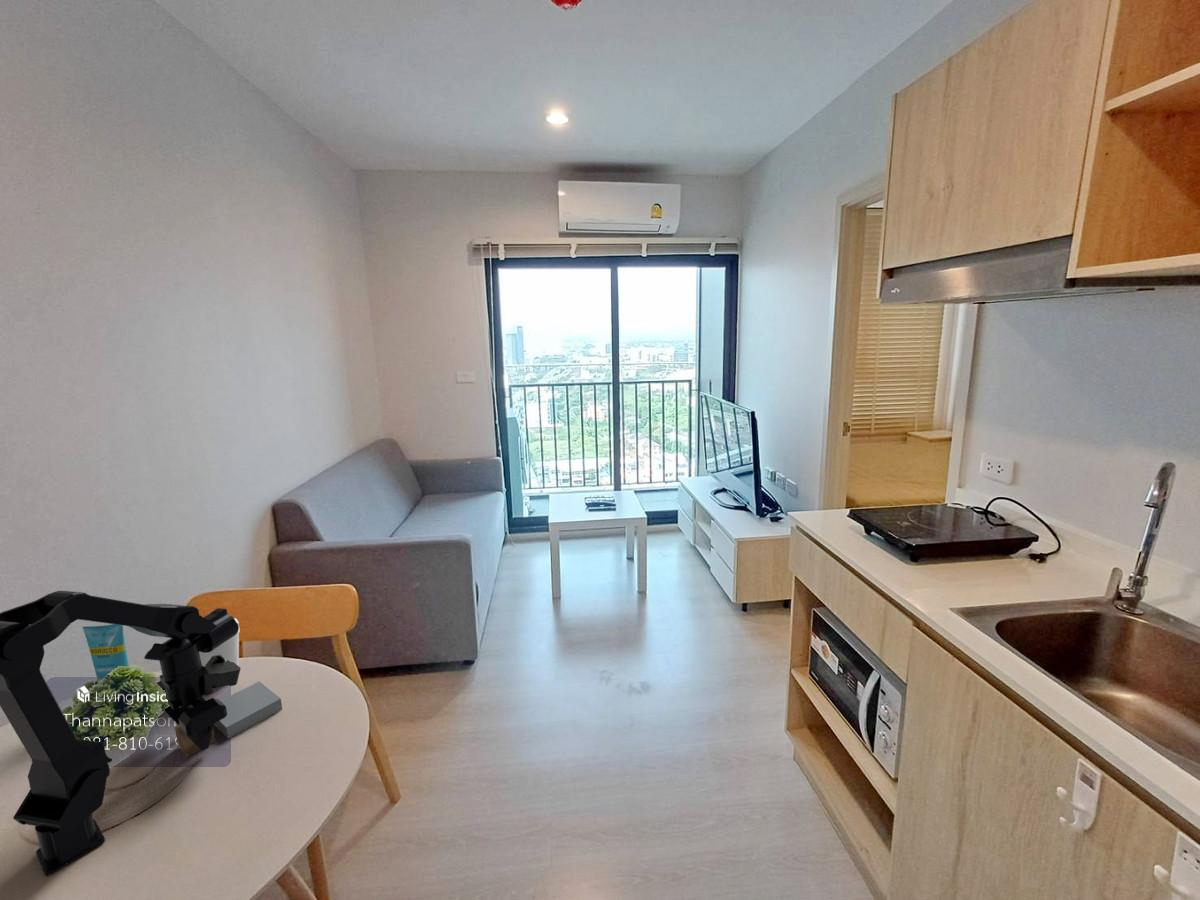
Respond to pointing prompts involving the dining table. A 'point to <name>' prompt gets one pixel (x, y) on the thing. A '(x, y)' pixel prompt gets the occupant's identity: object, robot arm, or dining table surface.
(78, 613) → the robot arm
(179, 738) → the walnut cube
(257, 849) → the dining table surface
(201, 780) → the dining table surface
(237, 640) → the foam cup
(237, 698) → the block
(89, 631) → the tube
